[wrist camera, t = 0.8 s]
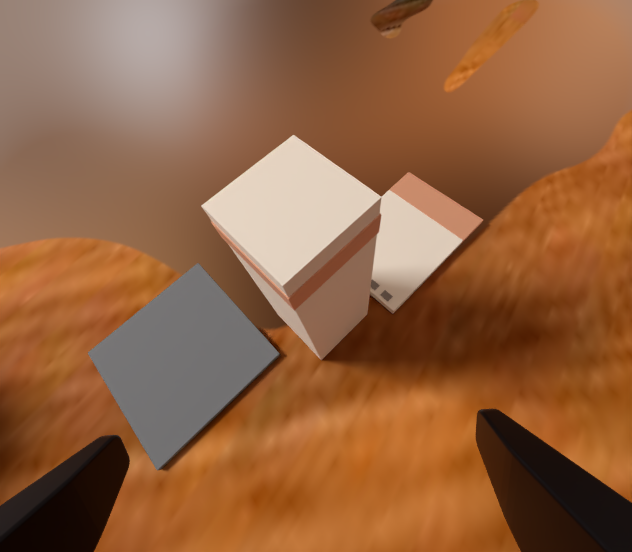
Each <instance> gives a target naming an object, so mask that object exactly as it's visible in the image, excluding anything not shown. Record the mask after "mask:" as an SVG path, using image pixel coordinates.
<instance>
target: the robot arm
mask: <svg viewBox="0 0 632 552" xmlns="http://www.w3.org/2000/svg"><path fill="white" fill-rule="evenodd" d="M476 442H477V446H478V449H479V451H480V454H481V457H482V459H483V462H484V465H485V467H486V470H487V473H488V475H489V478H490V480H491V483H492V486H493V488H494V491H495V494H496V496H497V499H498V502H499V504H500V507H501V509H502V512H503V514H504V517H505V519H506V521H507V523H508V526H509V528H510V530H511V532H512V534H513V536H514V538H515V540H516V542H517V544H518V546H519V548H520V550H521V552H632V503H631V502H630V501H628V500H627V499H625V498H624V497H623V496H621V495H620V494H618V493H617V492H615V491H614V490H613V489H611V488H610V487H608V486H607V485H605V484H604V483H603V482H601V481H600V480H598V479H597V478H595V477H594V476H592V475H591V474H590V473H588V472H587V471H585V470H584V469H582V468H581V467H580V466H578V465H577V464H575V463H574V462H572V461H571V460H570V459H568V458H567V457H565V456H564V455H562V454H561V453H560V452H558V451H557V450H555V449H554V448H552V447H551V446H550V445H548V444H547V443H545V442H544V441H542V440H541V439H540V438H538V437H537V436H535V435H534V434H532V433H531V432H529V431H528V430H527V429H525V428H524V427H522V426H521V425H519V424H518V423H517V422H515V421H514V420H512V419H511V418H509V417H508V416H507V415H505V414H504V413H502V412H501V411H499V410H497V409H481V410H479V411H478V413H477V422H476ZM129 462H130V460H129V456H128V453H127V451H126V449H125V446H124V444H123V442H122V439H121V438H120V437H119V436H118V435H107V436H101V437H99V438H98V439H96V440H95V441H93V442H92V443H90V444H89V445H87V446H86V447H85V448H83V449H82V450H80V451H79V452H77V453H76V454H74V455H73V456H71V457H70V458H69V459H67V460H66V461H64V462H63V463H61V464H60V465H58V466H57V467H56V468H54V469H53V470H51V471H50V472H48V473H47V474H45V475H44V476H43V477H41V478H40V479H38V480H37V481H35V482H34V483H32V484H31V485H30V486H28V487H27V488H25V489H24V490H22V491H21V492H19V493H18V494H17V495H15V496H14V497H12V498H11V499H9V500H8V501H6V502H5V503H4V504H2V505H1V506H0V552H94V550H95V548H96V546H97V544H98V542H99V540H100V538H101V536H102V533H103V531H104V528H105V526H106V524H107V521H108V519H109V516H110V514H111V511H112V509H113V506H114V503H115V501H116V498H117V496H118V493H119V491H120V488H121V486H122V483H123V481H124V478H125V476H126V473H127V471H128V468H129Z"/></svg>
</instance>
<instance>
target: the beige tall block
mask: <svg viewBox="0 0 632 552" xmlns="http://www.w3.org/2000/svg"><path fill="white" fill-rule="evenodd" d="M381 198H382V197H381V196H379V195H378V194H377V193H375V192H374V191H372V190H371V189H369V188H368V187H367V186H365V185H364V184H362V183H361V182H360V181H358V180H357V179H355V178H354V177H352V176H351V175H349V174H348V173H347V172H345V171H344V170H343V169H341V168H339V167H338V166H337V165H335V164H334V163H333V162H331V161H330V160H328V159H327V158H326V157H324V156H323V155H321V154H320V153H318V152H317V151H316V150H314V149H313V148H311V147H310V146H309V145H307V144H306V143H304V142H303V141H301V140H300V139H299V138H297V137H296V136H294V135H293V136H291V137H290V138H289V139H288V140H286V141H285V142H284V143H282V144H281V145H280V146H278V147H277V148H276V149H275V150H273V151H272V152H271V153H269V154H268V155H267V156H265V157H264V158H263V159H261V160H260V161H259V162H258V163H256V164H255V165H254V166H252V167H251V168H250V169H249V170H247V171H246V172H245V173H243V174H242V175H241V176H239V177H238V178H237V179H236V180H234V181H233V182H232V183H230V184H229V185H228V186H226V187H225V188H224V189H222V190H221V191H220V192H219V193H217V194H216V195H215V196H213V197H212V198H211V199H210V200H208V201H207V202H206V203H204V204H203V205H202V208H203V209H204V210H205V212H206V213H207V215H208V216H209V217H210V219H211V220H212V221H211V223H212V224H213V226H214V227H215V228H216V230H217V231H218V233H219V234H220V235H221V237H222V238H223V239H224V240H225V241H226V242H227V243H228V244H229V246H230V247H231V249H232V250H233V251H234V253H235V254H236V256H237V257H238V259H239V260H240V261H241V263H242V264H243V266H244V267H245V268H246V270H247V271H248V273H249V274H250V275H251V277H252V278H253V280H254V281H255V283H256V284H257V285H258V287H259V288H260V290H261V291H262V292H263V294H264V295H265V297H266V298H267V299H268V301H269V302H270V304H271V305H272V307H273V308H274V309H275V311H276V312H277V314H278V315H279V316H280V317H281V318H282V319H283V320H284V321H285V322H286V324H287V325H288V326H289V327H290V328H291V329H292V330H293V331H294V332H295V333H296V334H297V335H298V336H299V337H300V338H301V339H302V340H303V341H304V342H305V343H306V344H307V346H308V347H309V348H310V349H311V350H312V351H313V352H314V353H315V354H316V355H317V356H318V357H319V358H320V359H321V360H322V359H323V358H324V357H325V356H326V355H327V354H328V353H329V352H330V351H331V350H332V349H333V348H334V347H335V346H336V345H337V344H338V343H339V342H340V341H341V340H342V339H343V338H344V337H345V336H346V335H347V334H348V333H349V332H350V331H351V330H352V329H353V328H354V327H355V326H356V325H357V324H358V323H359V322H360V321H361V320H362V319H363V318H364V317H365V316H366V315H367V312H368V304H369V296H370V288H371V280H372V271H373V263H374V255H375V247H376V239H377V234H378V233H379V229H380V222H381V214H380V206H381Z"/></svg>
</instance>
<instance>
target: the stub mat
mask: <svg viewBox="0 0 632 552" xmlns="http://www.w3.org/2000/svg"><path fill="white" fill-rule="evenodd" d="M88 354H89V356H90V358H91V359H92V361H93V363H94V364H95V366H96V368H97V369H98V371H99V373H100V375H101V376H102V378H103V380H104V381H105V383H106V385H107V386H108V388H109V390H110V391H111V393H112V395H113V397H114V398H115V400H116V402H117V403H118V405H119V407H120V408H121V410H122V412H123V413H124V415H125V417H126V419H127V420H128V422H129V424H130V425H131V427H132V429H133V430H134V432H135V434H136V436H137V437H138V439H139V441H140V442H141V444H142V446H143V447H144V449H145V451H146V452H147V454H148V456H149V458H150V459H151V461H152V463H153V464H154V466H155V468H156V469H157V470H161V469H162V468H163V467H164V466H165V465H166V464H167V463H168V462H169V461H170V460H171V459H172V458H173V457H174V456H175V455H176V454H177V453H179V452H180V451H181V450H182V449H183V448H184V447H185V446H186V445H187V444H188V443H189V442H190V441H191V440H192V439H193V438H194V437H195V436H196V435H197V434H198V433H199V432H200V431H201V430H203V429H204V428H205V427H206V426H207V425H208V424H209V423H210V422H211V421H212V420H213V419H214V418H215V417H216V416H217V415H218V414H219V413H220V412H221V411H222V410H223V409H224V408H225V407H226V406H228V405H229V404H230V403H231V402H232V401H233V400H234V399H235V398H236V397H237V396H238V395H239V394H240V393H241V392H242V391H243V390H244V389H245V388H246V387H247V386H248V385H249V384H250V383H252V382H253V381H254V380H255V379H256V378H257V377H258V376H259V375H260V374H261V373H262V372H263V371H264V370H265V369H266V368H267V367H268V366H269V365H270V364H271V363H272V362H273V361H274V360H276V359H277V358H278V357H279V356H280V353H279V352H278V351H277V350H276V349H275V348H274V347H273V346H272V345H271V343H270V342H269V341H268V340H267V339H266V338H265V337H264V336H263V334H262V333H261V332H260V331H259V330H258V329H257V328H256V327H255V326H254V324H253V323H252V322H251V321H250V320H249V319H248V318H247V317H246V316H245V314H244V313H243V312H242V311H241V310H240V309H239V308H238V307H237V306H236V304H235V303H234V302H233V301H232V300H231V299H230V298H229V297H228V296H227V294H226V293H225V292H224V291H223V290H222V289H221V288H220V287H219V286H218V284H217V283H216V282H215V281H214V280H213V279H212V278H211V277H210V275H209V274H208V273H207V272H206V271H205V270H204V269H203V268H202V267H201V265H200V264H199V263H197V264H196V265H195V266H194V267H193V268H191V269H190V270H189V271H188V272H186V273H185V274H184V275H183V276H181V277H180V278H179V279H178V280H177V281H175V282H174V283H173V284H172V285H170V286H169V287H168V288H167V289H165V290H164V291H163V292H162V293H161V294H159V295H158V296H157V297H156V298H154V299H153V300H152V301H151V302H150V303H148V304H147V305H146V306H145V307H143V308H142V309H141V310H140V311H138V312H137V313H136V314H135V315H134V316H132V317H131V318H130V319H129V320H127V321H126V322H125V323H124V324H122V325H121V326H120V327H119V328H118V329H116V330H115V331H114V332H113V333H111V334H110V335H109V336H108V337H107V338H105V339H104V340H103V341H102V342H100V343H99V344H98V345H97V346H95V347H94V348H93V349H92V350H91V351H89V352H88Z"/></svg>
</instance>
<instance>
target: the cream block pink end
mask: <svg viewBox="0 0 632 552" xmlns="http://www.w3.org/2000/svg"><path fill="white" fill-rule="evenodd" d="M380 214H381V222H380V229H379V233H378V234H377V239H376V247H375V255H374V263H373V271H372V280H371V288H370V295H371V296H373V297H374V298H375V299H376V300H377V301H378V302H380V303H381V304H382V305H383V306H384V307H385V308H386V309H388V310H389V311H390V312H391V313H392V314H393V313H394V312H395V311H396V310H397V309H398V308H399V307H400V306H401V305H402V304H403V303H404V302H405V301H406V300H407V299H408V298H409V297H410V296H411V295H412V294H413V293H414V292H415V291H416V290H417V289H418V288H419V287H420V286H421V285H422V284H423V283H424V282H425V281H426V280H427V279H428V277H429V276H430V275H431V274H432V273H433V272H434V271H435V270H436V269H437V268H438V267H439V266H440V265H441V264H442V263H443V262H444V261H445V260H446V259H447V258H448V257H449V256H450V255H451V254H452V253H453V252H454V251H455V250H456V249H457V248H458V247H459V246H460V245H461V244H462V243H463V242H464V241H465V240H466V239H467V238H468V237H469V236H470V235H471V234H472V233H473V232H474V231H475V230H476V228H478V227H479V226H480V224H481V223H482V221H483V219H481V218H480V217H478V216H476V215H475V214H473V213H472V212H470V211H469V210H467V209H465V208H464V207H462V206H461V205H459V204H458V203H456V202H455V201H453V200H451V199H450V198H448V197H446V196H445V195H444V194H442V193H441V192H439V191H437V190H436V189H434V188H433V187H431V186H430V185H428V184H426V183H425V182H423V181H422V180H420V179H419V178H417V177H416V176H414V175H412V174H411V173H409V172H408V173H407V174H406V175H405V176H404V177H403V178H402V179H401V180H400V181H398V182H397V183H396V184H395V185H394V186H393V187H392V188H390V189H389V191H388V192H387V193H385V194H384V195H383V196H382V198H381V206H380Z"/></svg>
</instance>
